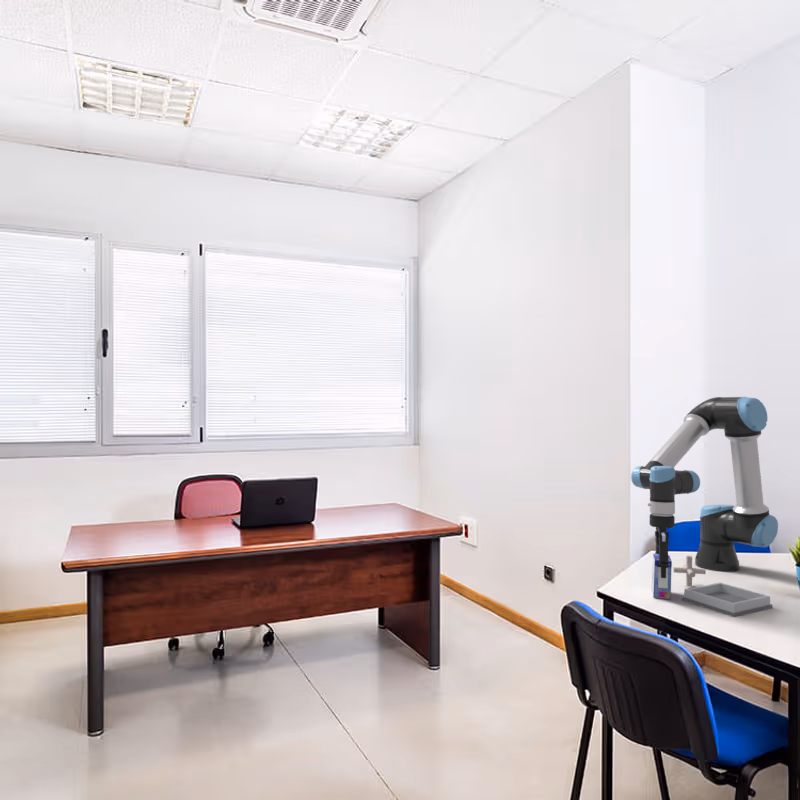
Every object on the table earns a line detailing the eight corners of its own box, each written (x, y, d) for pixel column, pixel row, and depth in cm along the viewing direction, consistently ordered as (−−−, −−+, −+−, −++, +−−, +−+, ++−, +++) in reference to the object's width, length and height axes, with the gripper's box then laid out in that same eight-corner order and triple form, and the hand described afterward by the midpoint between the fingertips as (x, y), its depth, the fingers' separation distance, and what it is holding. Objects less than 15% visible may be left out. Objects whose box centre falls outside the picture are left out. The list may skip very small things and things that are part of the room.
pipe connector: (708, 590, 219) (708, 560, 219) (676, 588, 221) (676, 558, 221) (701, 582, 229) (701, 553, 229) (670, 580, 231) (670, 552, 231)
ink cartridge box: (672, 600, 209) (672, 554, 208) (653, 598, 210) (653, 552, 210) (669, 591, 218) (669, 547, 218) (651, 589, 220) (651, 546, 220)
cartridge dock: (719, 592, 217) (719, 581, 217) (772, 608, 201) (772, 596, 201) (681, 600, 208) (682, 589, 208) (734, 616, 193) (734, 604, 192)
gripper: (647, 508, 226) (646, 573, 226) (652, 519, 204) (651, 591, 204) (671, 509, 224) (670, 575, 224) (678, 521, 202) (677, 594, 202)
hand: (661, 583), depth 214 cm, fingers closed on ink cartridge box, 10 cm apart
